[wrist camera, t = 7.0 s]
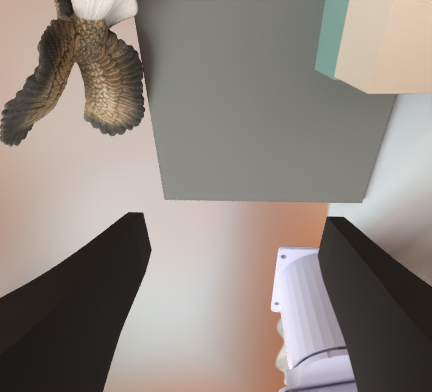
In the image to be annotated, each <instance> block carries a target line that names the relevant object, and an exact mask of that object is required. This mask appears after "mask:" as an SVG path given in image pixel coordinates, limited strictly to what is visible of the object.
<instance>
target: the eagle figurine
mask: <svg viewBox="0 0 432 392" xmlns="http://www.w3.org/2000/svg"><path fill="white" fill-rule="evenodd" d="M55 6H56V9H57V18H58V19H57V20H52V21H51V22H50V24H51V26H47V29H46V30H45V31H44V34H43V35H42V37H41V41H40V42H39V44H38V47H37V48H38V51H39V54H40V56H39V66H38V67H37V68H36V69H35V72H34V74H33V75H31V76H29V77H28V78H27V79H26V83H25V84H24V86H23V89H22V90H20V91H18V92H17V93H16V97H15V98H14V99H12V100H10V101H8V102H7V103H6V104H5V106H4V107H5V109H4V110H3V111H2V116H4V118H2V119H1V123H2V124H1V126H0V129H1V132H0V135H1V136H0V141H1V142H4V144H5V145H8V146H10V147H11V146H12V145H13V144H14V145H16V146H18V145H19V144H20V142H21V140H22V139H25V138H26V136H27V133H28V131H30V130H31V129H32V126H33V124H34V123H35V122H36V121H38V120H39V119H41V118H43V117H44V116H45V115H46V114H48V113H49V112H50V111H51V110H52V109H53V108H54V107H55V105H56V104H57V102H58V100H59V98H60V96H61V94H62V92H63V90H64V89H65V86H66V84H67V79H68V77H69V75H70V72H71V69H72V67H73V65H74V63H75V62H77V64H78V65H79V68H80V70H81V74H82V78H83V81H84V86H85V98H86V104H85V111H84V119H85V121H87V122H90V123H91V125H92V126H93V128H99V129H100V131H101V133H102V134H107V133H108V134H109V135H110V136H115V135H116V134H117V133H118V134H119V135H122V134H124V133H125V131H126V129H128V130H132V129H133V126H138V125H139V123H140V122H141V118H143V117H144V111H145V108H144V107H143V105H144V97H143V96H142V93H143V89H142V88H143V84H142V82H141V80H142V78H143V71H144V70H143V67H142V63H141V61H140V59H139V56H138V52H137V51H135V50H134V48H133V46H131V45H126V43H125V42H124V41H123V40H122V39H119V40H118V39H117V35H116V34H115V33H114V32H111V31H110V30H109V28H110V27H112V26H113V25H115V24H117V23H119V22H121V21H123V20H125V19H128V18H131V17H133V16H135V15H136V14H137V12H138V4H137V1H136V0H55Z"/></svg>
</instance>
